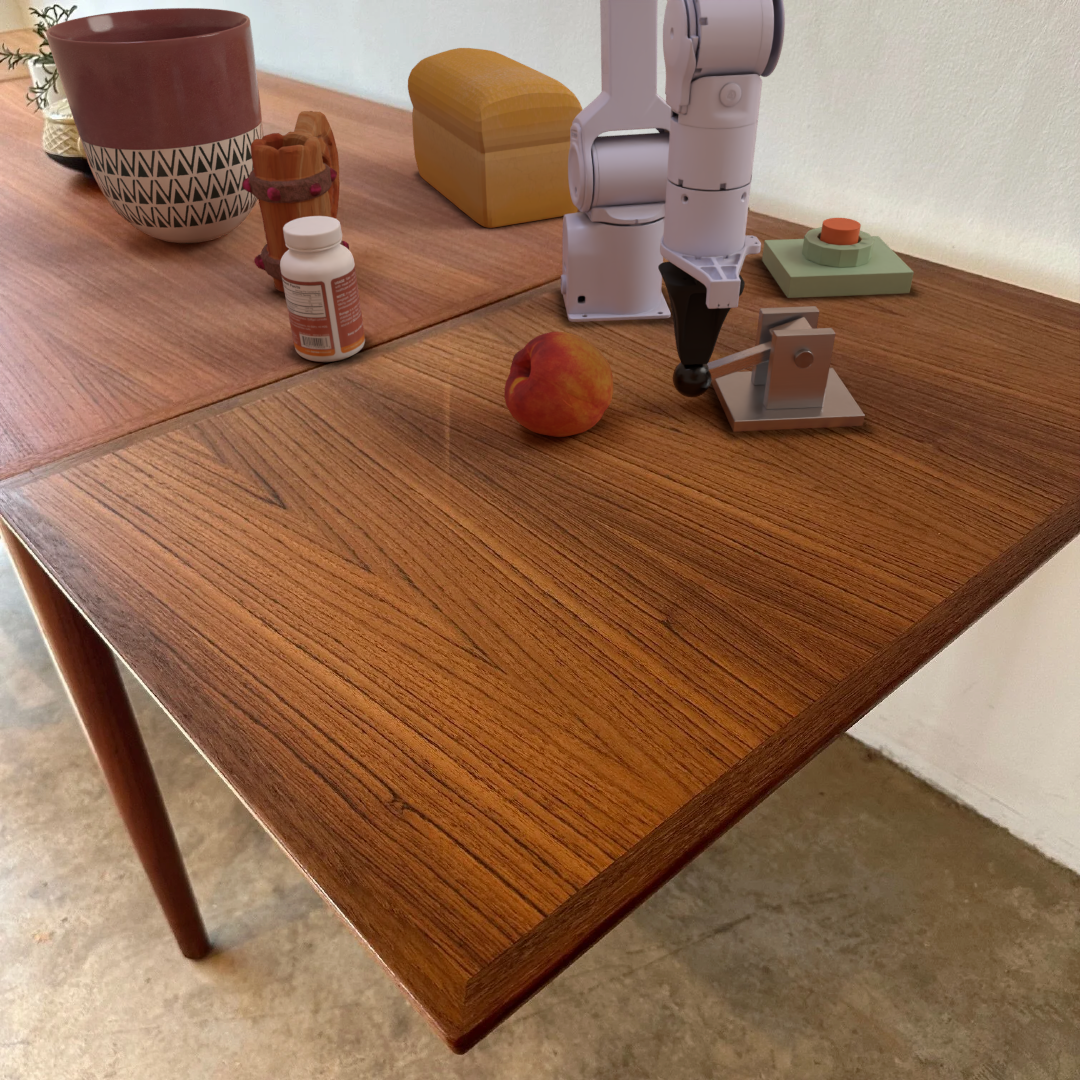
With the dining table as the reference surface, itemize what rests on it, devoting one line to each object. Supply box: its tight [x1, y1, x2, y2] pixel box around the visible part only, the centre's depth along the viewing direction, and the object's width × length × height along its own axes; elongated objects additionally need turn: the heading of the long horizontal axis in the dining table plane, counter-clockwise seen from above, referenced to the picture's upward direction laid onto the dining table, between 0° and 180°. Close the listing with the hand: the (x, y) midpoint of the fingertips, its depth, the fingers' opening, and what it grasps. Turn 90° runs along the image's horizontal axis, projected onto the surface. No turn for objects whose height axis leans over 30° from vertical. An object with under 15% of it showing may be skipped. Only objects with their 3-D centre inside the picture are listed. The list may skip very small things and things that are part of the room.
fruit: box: [503, 331, 614, 438], centre depth 75 cm, size 8×8×8 cm
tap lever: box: [672, 317, 812, 398], centre depth 77 cm, size 11×3×3 cm, turn 94°
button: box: [820, 217, 862, 245], centre depth 98 cm, size 4×4×2 cm
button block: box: [761, 226, 915, 299], centre depth 100 cm, size 12×10×4 cm
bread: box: [407, 47, 584, 229], centre depth 120 cm, size 24×13×15 cm, turn 24°
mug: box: [242, 110, 350, 294], centre depth 98 cm, size 15×8×15 cm, turn 168°
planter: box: [45, 7, 265, 244], centre depth 107 cm, size 20×20×21 cm
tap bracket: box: [711, 305, 866, 433], centre depth 77 cm, size 10×8×7 cm
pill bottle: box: [280, 216, 366, 363], centre depth 86 cm, size 6×6×11 cm
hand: (693, 360), depth 76 cm, fingers closed, pressing on tap lever
